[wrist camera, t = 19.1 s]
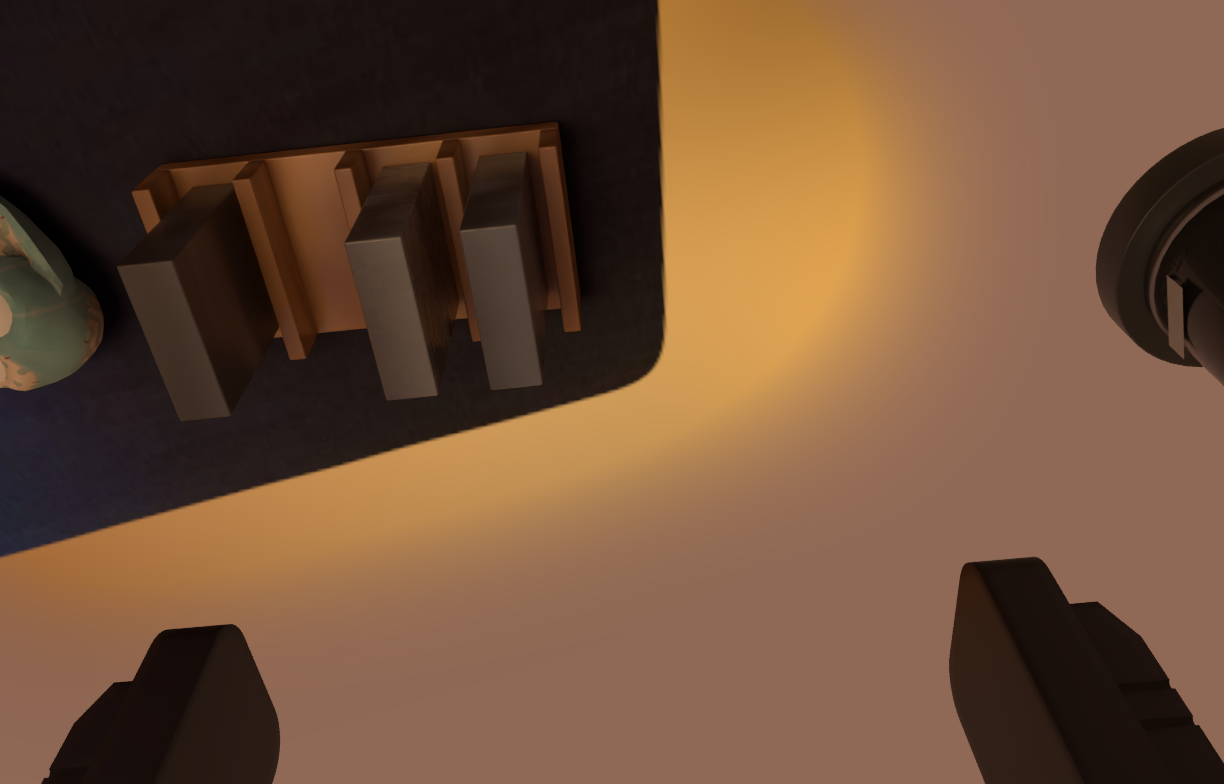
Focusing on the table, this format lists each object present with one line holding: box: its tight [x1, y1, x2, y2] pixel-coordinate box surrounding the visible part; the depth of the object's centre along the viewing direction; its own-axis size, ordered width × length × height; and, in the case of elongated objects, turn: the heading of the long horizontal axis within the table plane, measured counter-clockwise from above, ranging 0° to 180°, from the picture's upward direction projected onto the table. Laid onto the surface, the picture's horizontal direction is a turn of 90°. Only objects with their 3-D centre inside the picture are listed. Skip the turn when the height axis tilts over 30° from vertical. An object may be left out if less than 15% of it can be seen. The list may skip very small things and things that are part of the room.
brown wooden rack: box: [117, 122, 581, 421], centre depth 42 cm, size 18×9×10 cm, turn 96°
